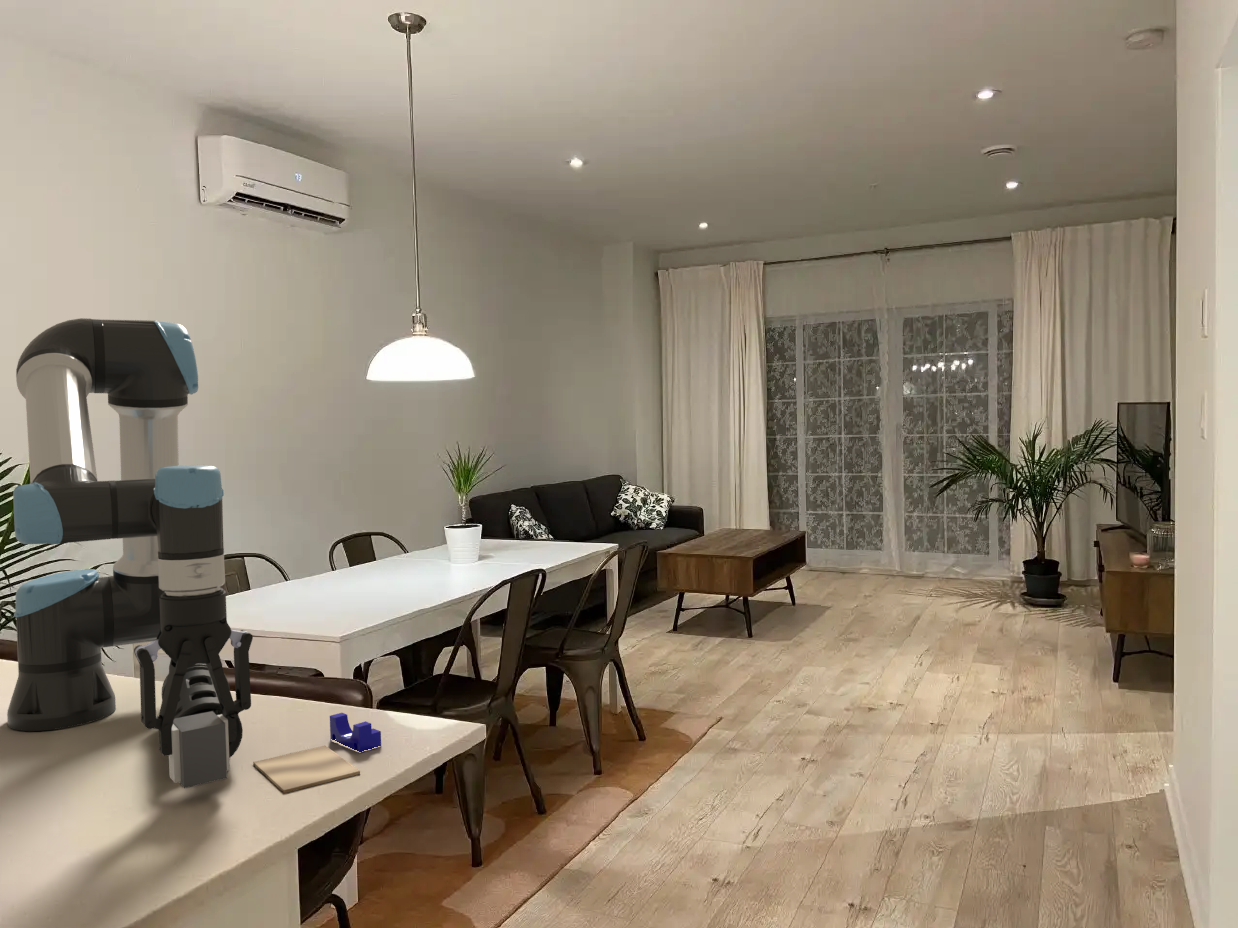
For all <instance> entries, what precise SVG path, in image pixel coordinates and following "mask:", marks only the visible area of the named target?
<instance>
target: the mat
mask: <svg viewBox="0 0 1238 928" xmlns="http://www.w3.org/2000/svg"><path fill="white" fill-rule="evenodd" d="M252 764H253V766H254V767H255V768H256V769H257V770H258V771H259V772H261V774H262V775H264V777H266V778H267V779H268V780H269V781H270V782H272V784H274V785H275V786H276V787H277V788H278V790H280V791H281V792H282V793H283V794H288V793H290V792H294V791H298V790H304V789H306V788H310V787H314V786H318V785H323V784H325V783H326V784H327V783H329V782H333V781H337V780H338V781H339V780H342V779H345V778H346V779H347V778H350V777H354V776H357V775H361V770H360V769H359V768H357V767H356V766H355V765H352V764H351V763H350V762H349V761H347V760H346V759H345V758H343V757H342V756H340V755H339V754H338V753H336V752H335V751H333V750H332V749H331V748H329V747H328V746H327V745H321V746H317V747H312V748H307V749H304V750H299V751H295V752H290V753H287V754H282V755H277V756H273V757H269V758H265V759H260V760H256V761H253V763H252Z"/></svg>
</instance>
